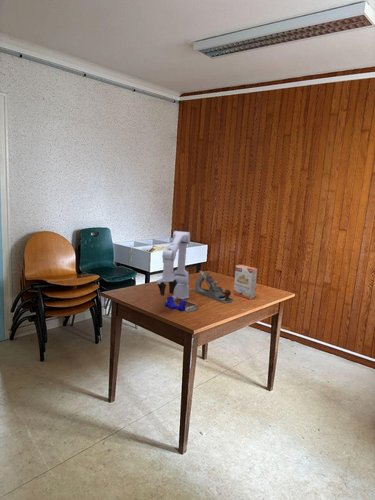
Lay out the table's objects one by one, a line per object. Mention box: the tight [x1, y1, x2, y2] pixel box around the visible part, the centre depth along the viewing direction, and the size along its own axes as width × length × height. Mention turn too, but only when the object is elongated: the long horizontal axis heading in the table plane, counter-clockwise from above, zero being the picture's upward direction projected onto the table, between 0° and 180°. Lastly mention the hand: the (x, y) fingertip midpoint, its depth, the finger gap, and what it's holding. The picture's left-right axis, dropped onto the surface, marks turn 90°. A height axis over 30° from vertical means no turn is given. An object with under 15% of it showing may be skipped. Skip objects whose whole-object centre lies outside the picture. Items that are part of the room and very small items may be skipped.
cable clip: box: [164, 295, 187, 312], centre depth 216 cm, size 12×4×6 cm, turn 49°
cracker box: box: [233, 264, 258, 300], centre depth 249 cm, size 14×6×21 cm, turn 45°
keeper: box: [165, 297, 199, 313], centre depth 220 cm, size 9×18×3 cm, turn 46°
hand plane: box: [190, 270, 234, 304], centre depth 246 cm, size 9×33×15 cm, turn 41°
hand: (166, 294), depth 210 cm, fingers open, 6 cm apart
